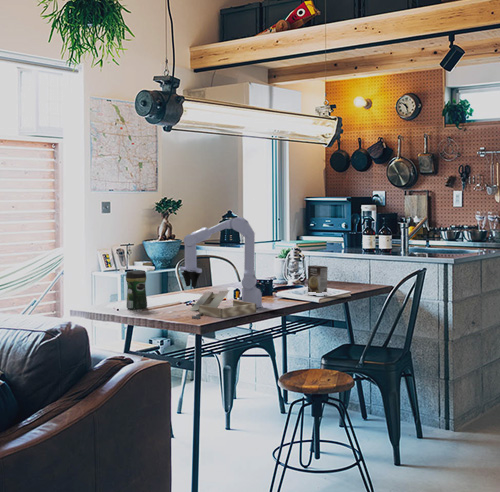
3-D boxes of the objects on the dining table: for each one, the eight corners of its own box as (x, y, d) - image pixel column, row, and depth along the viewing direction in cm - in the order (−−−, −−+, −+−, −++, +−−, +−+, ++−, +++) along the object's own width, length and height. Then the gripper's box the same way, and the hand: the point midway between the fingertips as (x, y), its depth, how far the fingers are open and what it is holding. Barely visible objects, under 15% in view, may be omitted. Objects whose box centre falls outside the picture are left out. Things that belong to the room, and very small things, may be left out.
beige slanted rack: (225, 320, 321) (236, 296, 331) (216, 308, 317) (227, 284, 326) (198, 322, 331) (209, 299, 340) (188, 311, 326) (200, 287, 335)
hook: (201, 315, 313) (201, 312, 313) (207, 315, 312) (207, 313, 311) (191, 318, 304) (191, 316, 304) (198, 319, 303) (198, 316, 303)
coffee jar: (140, 306, 339) (139, 268, 338) (149, 308, 333) (149, 270, 332) (123, 308, 332) (122, 270, 331) (132, 310, 327) (132, 271, 325)
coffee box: (307, 295, 375) (307, 265, 373) (315, 294, 379) (315, 265, 378) (319, 297, 368) (319, 267, 367) (327, 295, 372) (327, 266, 371)
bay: (234, 308, 331) (234, 300, 331) (256, 312, 320) (256, 303, 320) (199, 313, 316) (199, 305, 316) (220, 317, 305) (220, 309, 305)
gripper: (175, 258, 338) (175, 285, 339) (193, 260, 328) (194, 288, 329) (186, 257, 343) (186, 284, 344) (205, 259, 333) (205, 287, 334)
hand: (190, 286), depth 337 cm, fingers open, 4 cm apart
